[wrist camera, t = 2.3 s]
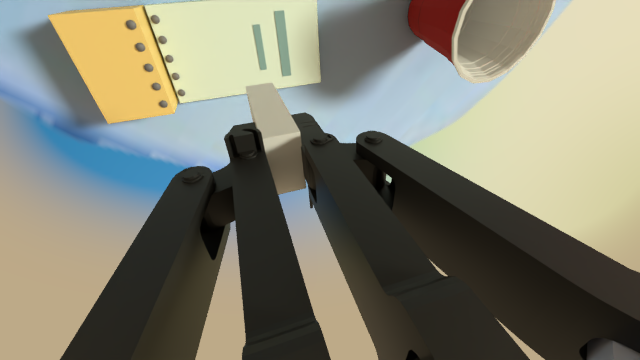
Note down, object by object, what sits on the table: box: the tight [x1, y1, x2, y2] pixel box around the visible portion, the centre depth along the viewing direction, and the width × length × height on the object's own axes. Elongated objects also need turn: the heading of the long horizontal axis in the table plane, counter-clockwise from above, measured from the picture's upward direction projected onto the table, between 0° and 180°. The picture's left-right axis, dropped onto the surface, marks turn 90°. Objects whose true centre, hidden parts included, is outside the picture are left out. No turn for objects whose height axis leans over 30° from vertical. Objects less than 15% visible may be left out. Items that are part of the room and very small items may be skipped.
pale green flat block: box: [145, 0, 321, 103], centre depth 29 cm, size 9×16×2 cm, turn 94°
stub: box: [48, 5, 178, 124], centre depth 26 cm, size 9×6×4 cm, turn 4°
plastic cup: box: [408, 0, 556, 83], centre depth 29 cm, size 11×11×12 cm
